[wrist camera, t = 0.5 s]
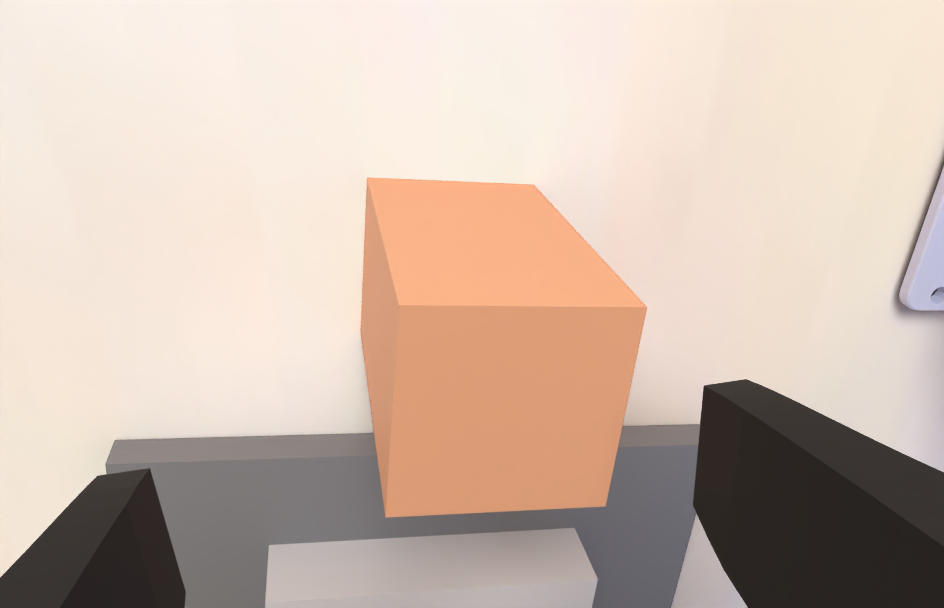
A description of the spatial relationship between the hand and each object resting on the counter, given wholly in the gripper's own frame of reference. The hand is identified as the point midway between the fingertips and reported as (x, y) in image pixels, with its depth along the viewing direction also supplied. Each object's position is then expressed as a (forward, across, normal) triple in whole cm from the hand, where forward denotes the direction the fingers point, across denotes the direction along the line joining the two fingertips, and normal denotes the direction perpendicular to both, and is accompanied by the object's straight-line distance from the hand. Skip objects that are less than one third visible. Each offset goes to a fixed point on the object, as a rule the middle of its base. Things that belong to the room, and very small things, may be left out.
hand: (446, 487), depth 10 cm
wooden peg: (+9, -1, +1) cm, 10 cm away
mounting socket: (+9, 0, +13) cm, 16 cm away
